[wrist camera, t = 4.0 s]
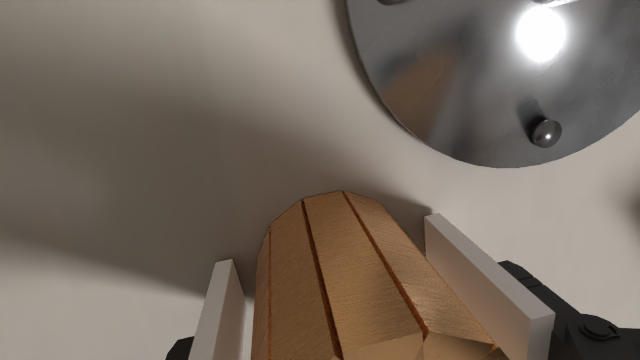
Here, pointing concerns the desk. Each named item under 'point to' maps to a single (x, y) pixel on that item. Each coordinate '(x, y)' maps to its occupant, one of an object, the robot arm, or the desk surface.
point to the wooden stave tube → (355, 290)
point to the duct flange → (502, 73)
